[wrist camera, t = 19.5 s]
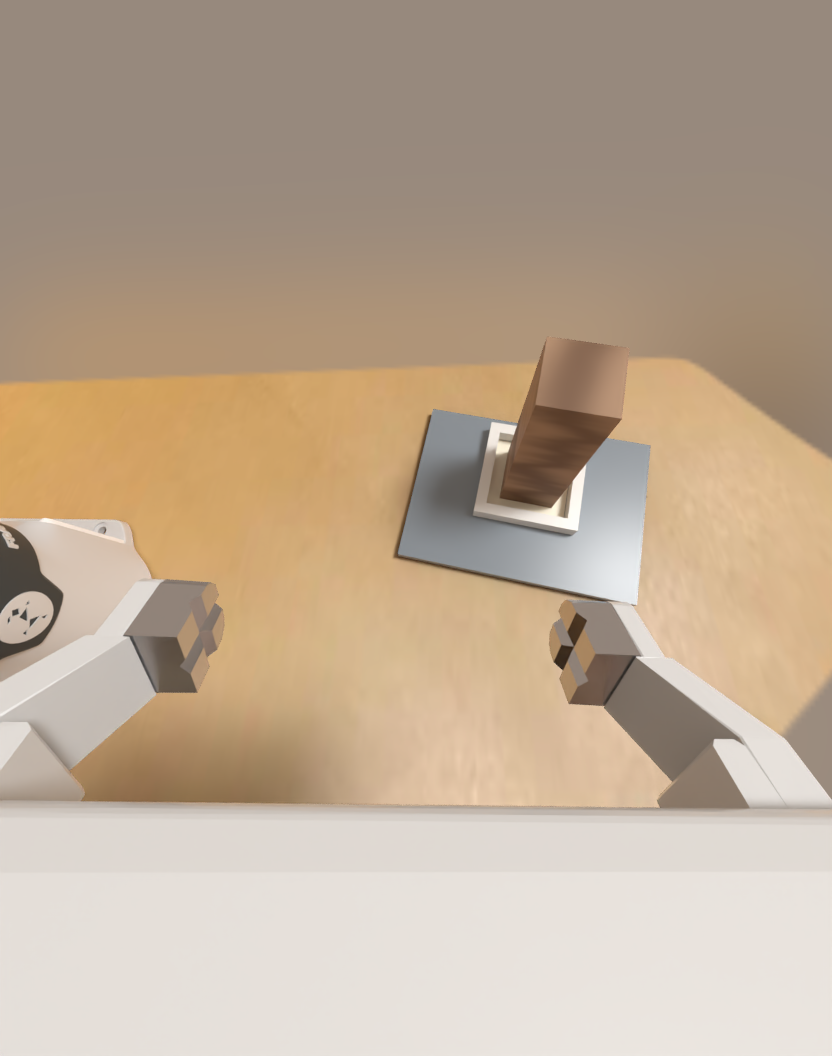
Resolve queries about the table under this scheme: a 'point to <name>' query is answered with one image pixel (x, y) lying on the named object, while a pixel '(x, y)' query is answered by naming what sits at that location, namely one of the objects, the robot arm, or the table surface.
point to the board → (520, 551)
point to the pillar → (564, 418)
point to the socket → (521, 512)
